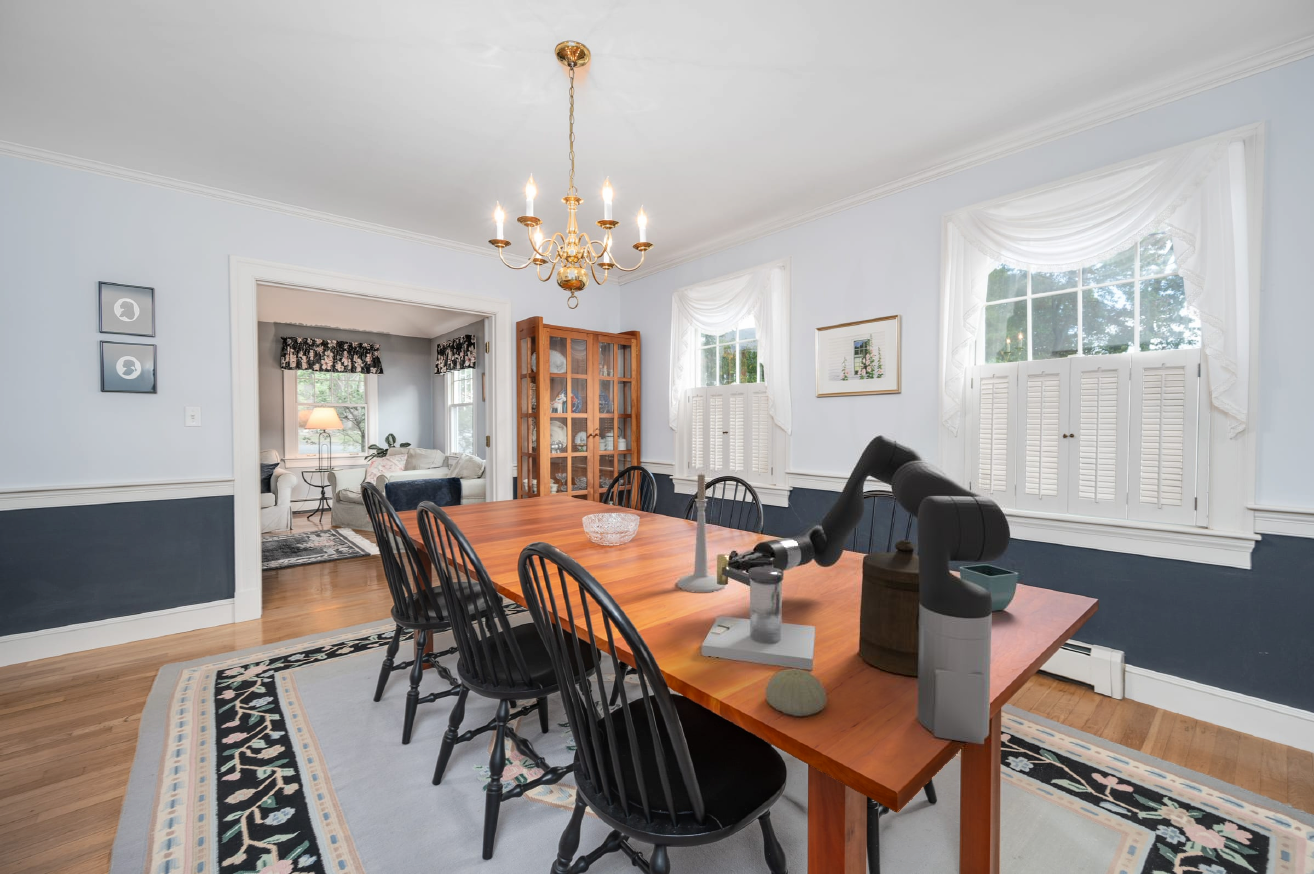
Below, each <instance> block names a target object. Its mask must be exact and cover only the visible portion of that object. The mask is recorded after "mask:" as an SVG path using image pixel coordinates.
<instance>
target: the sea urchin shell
mask: <svg viewBox="0 0 1314 874" xmlns="http://www.w3.org/2000/svg"><path fill="white" fill-rule="evenodd" d="M765 689H766V690H765V699H766V700H767V703H768V704H769V705H770V706H771V707H773V708H774V709H776V710H777V711H780V712H781V713H783V714H785V715H791V716H793V717H799V718H800V717H806V716H807V717H808V716H811V715H815V714H817V713H818V712H820V711H822V710H823V709H824V708H825V706H826V704H827V699H828V698H827V694H826V691H825V687H824V686H823V685H822V683H821V682H820V681H819V679H818V678H817V677H816V676H815V675H814V674H812V673H811V672H810V671H808V670H806V669H800V668H789V669H783V670H780V671H779V672H777V673H776V674H773V676H771V678H770V679H769V681H768V683H767V685H766V688H765Z"/></svg>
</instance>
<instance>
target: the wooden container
mask: <svg viewBox="0 0 1314 874" xmlns="http://www.w3.org/2000/svg"><path fill="white" fill-rule="evenodd" d="M915 547H916V546H915V543H913V542H911V540H907V539H906V540H905V539H900V540H899V541H897V542H896V543H895V544H894V548H895V549H896V551H895V552H875V553H874V552H873V553H868V554H866V555H865V556H863V558H862V567H861V568H862V570H861V571H862V576H861V577H862V578H861V580H862V581H861V594H860V595H861V597H860V607H859V608H860V612H859V615H860V616H859V640H858V642H859V643H858V653H859V655H860V657H861V658H862V660H864V661H865V662H867V663H868V664H869V665H871V666H874V667H875V668H878V669H880V670H883V671H884V672H885V671H886V672H888V673H889V672H890V673H893V674H897V675H902V676H903V675H904V676H909V677H910V676H911V677H918V648H919V595H920V593H919V554H916V553H915V552H914V551H915V549H916V548H915Z"/></svg>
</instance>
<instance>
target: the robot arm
mask: <svg viewBox="0 0 1314 874" xmlns="http://www.w3.org/2000/svg"><path fill="white" fill-rule="evenodd" d="M869 477H871V478H874V479H875V480H878V481H880V482H882V483H885V484H887V485H889V486H890V488H891V492H892V495H893V497H894V499H895V500H896V502H897V503H898V504H899V505H900V506H901V507H902V509H903V510H904V511H905V512H907V513H908V514H910V515H911V516H912V517H915V518H917V519H916V521H917V522H916V523H917V524H916V527H917V531H916V532H917V551H918V554H917V555H918V556H919V593H920V595H919V648H918V676H917V719H918V722H919V723H920V724H921V725H922V726H923V727H924V728H925V729H927V730H929V732H931V733H932V734H933V736H934V737H935V738H940V739H946V740H952V741H959V742H965V743H966V742H967V743H971V744H972V743H973V744H979V745H984V744H985V739H987V738H988V737H989V735H990V710H991V709H990V707H991V705H990V702H991V701H990V700H991V699H990V698H991V654H992V620H993V619H992V615H993V613H992V612H993V611H992V598H991V595H990V593H989V592H988V591H987V590H986V589H984V588H983V587H981V586H979V585H977V584H974V583H972V582H969V581H966V580H963V579H961V577H958V576H957V575H954V574H953V573H952V572H951V571H950V565H949V561H950V562H969V563H970V562H971V563H973V562H974V563H986V562H992V561H996V560H998V559H999V558H1001V557H1002V556H1004V555H1005V553H1006V552H1007V550H1008V549H1009V546H1010V541H1011V530H1010V525H1009V522H1008V519H1007V517H1006V515H1005V513H1004V512H1003V510H1002V509H1001V507H1000V506H999V505H998V504H997V503H996V502H995V501H994V500H992V499H991V498H989V497H987V496H984V495H981V494H980V493H977V492H975V491H973V490H970V489H968V488H966V487H965V486H963V485H961V484H960V483H959V482H958V481H956V480H954V479H953V478H951V477H950V476H948V475H947V474H946V473H945V472H944V471H942V469H939V468H938V467H937V466H935V465H933V464H932V463H930V462H927V461H926V460H925V459H924V458H923V456H922V455H921V454H920V452H918V451H917V450H915V449H914V448H913V447H911V446H908V445H906V444H904V443H901V442H899V441H897V440H895V439H893V438H890V437H889V436H885V435H877V436H875V437H874V438H872V440H871V441H869V443H868V444H867V446H866V447H865V449H864V450H863V452H862V453H861V456H860V457H859V459H858V461H857V463H856V464H855V466H854V468H853V470H852V471H851V473H850V476H849V477H848V480H847V481H846V483H845V486H844V487H843V489H842V491H841V493H840V495H839V496H838V498H837V500H836V501H835V502H834V503H833V505H832V506H831V508H830V509H829V510H828V512H827V513H826V514H825V515H824V517H823V518H822V521H821V525H819V524H814V525H811V526H810V527H807V528H806V529H805V530H804V531H803V532H801V533H800V534H798V535H795V536H791V537H785V538H776V539H770V540H766V541H761V542H758V543H757V544H756V545H754V548H753V549H752V550H747V551H746V552H743V553H740V554H739V552H737V551H738V550H731V552H730V554H729V555H728V566H729V567H731V568H734V569H736V570H739V571H742V572H744V573H747V574H749V569H751V568H754V567H772V568H777V569H780V570H782V571H783V572H786V571H790V570H791V569H794V568H797V567H801V566H803V565H808V564H810V563H811V562H812V561H813V560H814V562H815V563H816V564H817V565H818V566H820V567H822V568H828V567H832V566H833V565H835V564H836V563H837V562H838V561H839V560H840V559H841V557H842V554H843V552H844V549H845V548H846V544H847V542H848V539H849V536H850V534H851V533H853V531H854V529H856V527H857V526H858V525H859V524H860V522H861V520H862V518H863V516H864V513H865V500H864V499H865V498H864V486H865V483H866V480H867V478H869Z"/></svg>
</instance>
